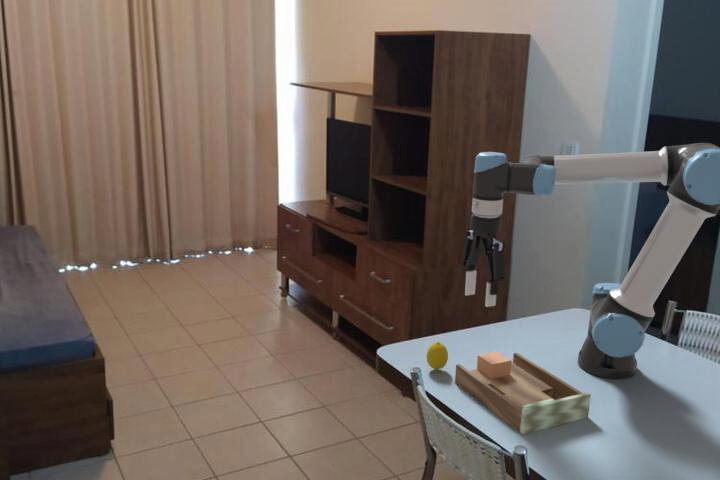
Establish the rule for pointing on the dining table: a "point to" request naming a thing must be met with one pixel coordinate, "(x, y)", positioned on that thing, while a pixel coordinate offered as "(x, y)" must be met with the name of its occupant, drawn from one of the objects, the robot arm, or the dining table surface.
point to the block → (494, 365)
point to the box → (526, 396)
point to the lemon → (437, 356)
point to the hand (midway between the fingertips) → (479, 299)
